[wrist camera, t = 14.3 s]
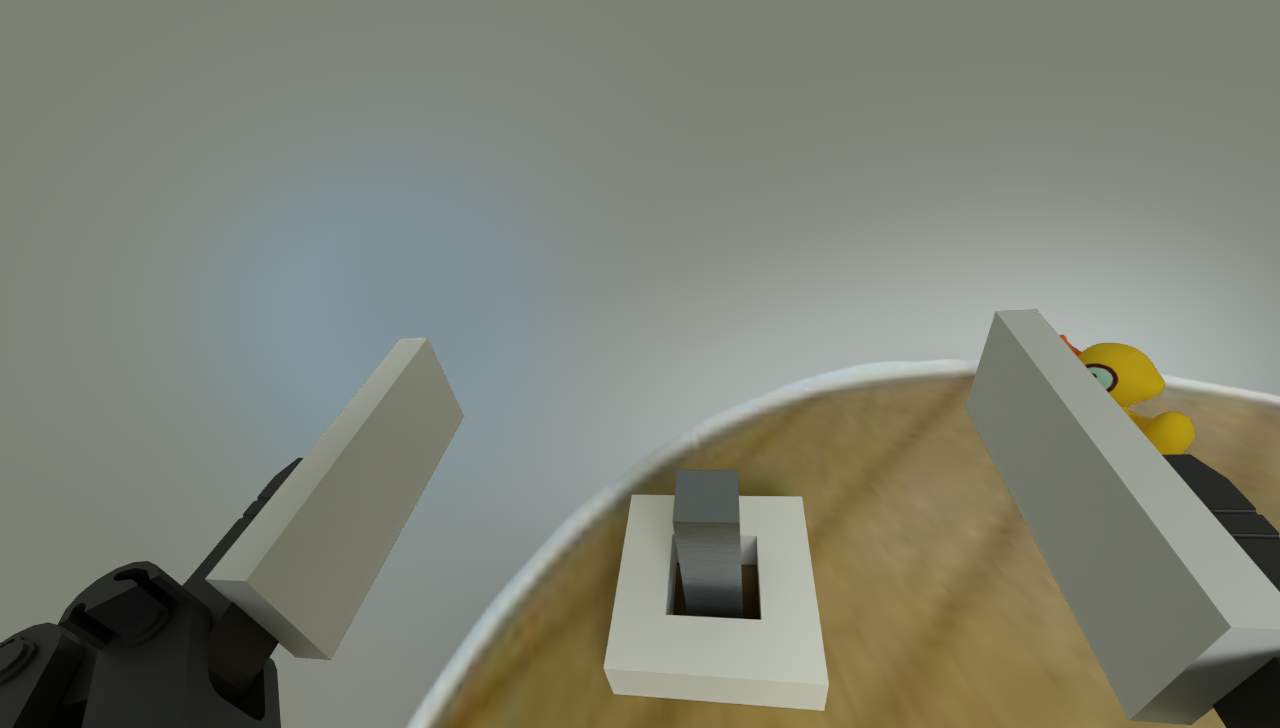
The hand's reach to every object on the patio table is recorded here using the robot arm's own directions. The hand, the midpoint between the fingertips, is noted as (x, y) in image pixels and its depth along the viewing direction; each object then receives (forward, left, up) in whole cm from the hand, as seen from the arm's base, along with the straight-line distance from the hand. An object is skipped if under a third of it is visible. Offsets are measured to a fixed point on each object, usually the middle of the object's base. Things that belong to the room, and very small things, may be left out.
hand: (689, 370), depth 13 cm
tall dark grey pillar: (-3, -11, -32) cm, 34 cm away
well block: (-3, -11, -32) cm, 34 cm away
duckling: (-40, -15, -32) cm, 53 cm away
